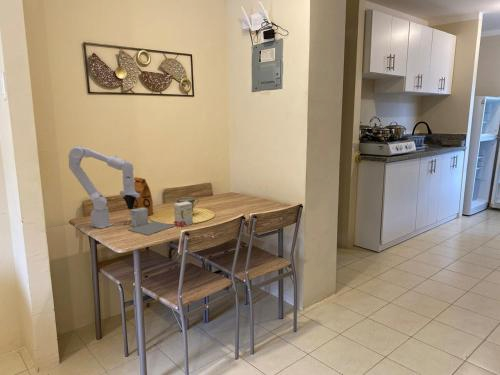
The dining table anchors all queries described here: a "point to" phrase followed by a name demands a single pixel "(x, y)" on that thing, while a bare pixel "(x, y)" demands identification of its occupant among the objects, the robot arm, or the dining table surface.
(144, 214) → the medicine box
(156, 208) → the dining table surface
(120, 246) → the dining table surface
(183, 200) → the ceramic cup
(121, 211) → the dining table surface
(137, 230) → the mat
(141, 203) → the coffee package
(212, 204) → the dining table surface
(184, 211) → the ink box
